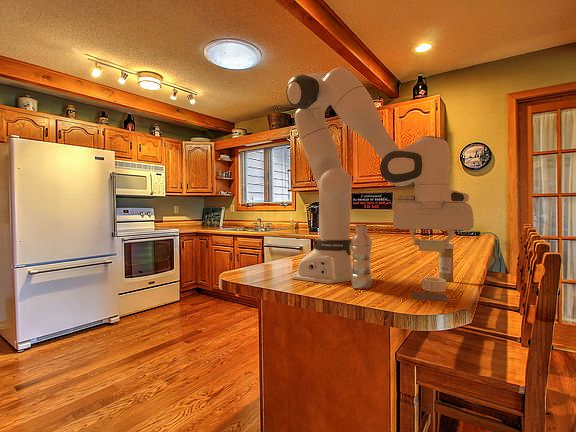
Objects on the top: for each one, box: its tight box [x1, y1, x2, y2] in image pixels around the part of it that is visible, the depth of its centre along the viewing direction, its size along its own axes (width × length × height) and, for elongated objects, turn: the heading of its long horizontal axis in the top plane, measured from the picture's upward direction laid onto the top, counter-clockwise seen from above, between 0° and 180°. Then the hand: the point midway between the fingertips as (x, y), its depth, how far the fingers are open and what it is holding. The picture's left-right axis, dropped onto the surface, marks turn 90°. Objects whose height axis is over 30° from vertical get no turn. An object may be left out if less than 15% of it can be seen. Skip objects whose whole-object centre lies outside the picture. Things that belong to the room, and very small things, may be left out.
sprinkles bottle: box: [438, 241, 455, 284], centre depth 106 cm, size 5×5×13 cm
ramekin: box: [421, 276, 447, 293], centre depth 95 cm, size 6×6×4 cm
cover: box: [417, 238, 445, 253], centre depth 87 cm, size 6×8×2 cm
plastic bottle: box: [350, 224, 373, 290], centre depth 98 cm, size 6×7×20 cm
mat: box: [410, 291, 450, 303], centre depth 87 cm, size 9×8×1 cm
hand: (430, 245), depth 87 cm, fingers closed on cover, 6 cm apart
